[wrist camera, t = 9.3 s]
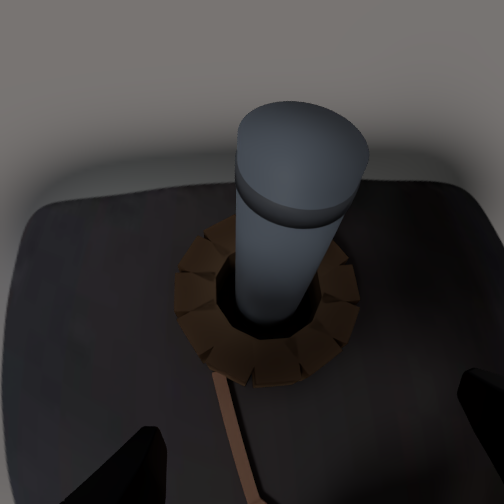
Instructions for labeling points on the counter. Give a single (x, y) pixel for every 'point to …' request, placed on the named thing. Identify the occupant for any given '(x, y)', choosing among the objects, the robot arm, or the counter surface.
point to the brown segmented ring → (245, 346)
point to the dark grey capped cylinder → (289, 203)
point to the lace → (236, 440)
